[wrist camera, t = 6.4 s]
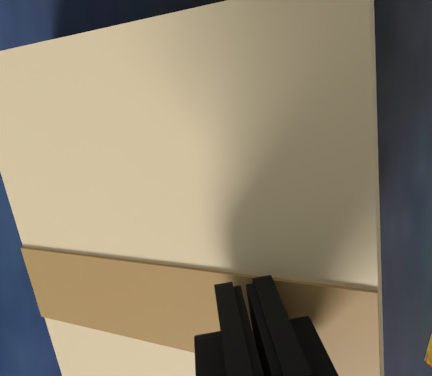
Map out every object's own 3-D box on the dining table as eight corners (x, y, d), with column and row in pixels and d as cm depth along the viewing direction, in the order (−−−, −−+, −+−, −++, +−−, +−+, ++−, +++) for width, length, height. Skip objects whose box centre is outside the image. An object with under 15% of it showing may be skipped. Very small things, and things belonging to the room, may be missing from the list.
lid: (373, -28, 9) (367, -32, 8) (388, 552, 14) (386, 579, 13) (-16, 57, 15) (-38, 58, 14) (93, 434, 20) (81, 448, 20)
